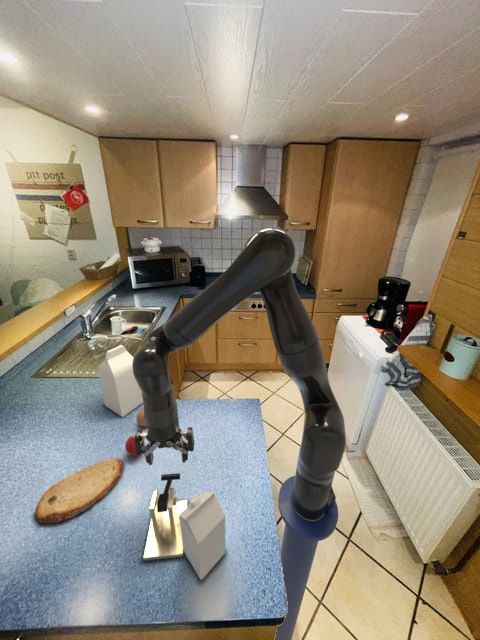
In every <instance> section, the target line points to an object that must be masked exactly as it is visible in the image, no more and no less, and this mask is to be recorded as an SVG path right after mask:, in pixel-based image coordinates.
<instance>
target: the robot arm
mask: <svg viewBox="0 0 480 640" xmlns="http://www.w3.org/2000/svg"><path fill="white" fill-rule="evenodd" d="M295 246H296V245H295V244H294V241H293V238H292V237H291V236H290V235H289V234H288V233H287V232H285V231H283V230H282V229H278V228H274V227H265V228H261V229H258V230H257V231H255V232H254V233H252V234H251V235H249V237H248V238H247V240H246V241H245V244H244V246H243V249H242V250H241V251H240V253H239V254H238V255H237V256H236V257H235V259H234V261H232V262H231V264H230V265H229V266H228V268H227V269H226V270H225V271H223V273H222V274H220V276H218V278H216V279H215V280H214V281H213V282H212V283H211V284H209V285H208V286H206V287H205V288H204V289H203V290H201V291H200V292H199V293H197V294H196V295H195V296H194V297H192V298H191V299H190V300H189V301H188V302H187V303H185V304H184V305H182V307H181V308H179V310H177V311H176V312H175V313H174V314H172V316H171V317H170V318H169V319H168V320H167V321H166V322H164V323H163V324H161V325H160V326H159V327H157V328H155V329H154V330H152V331H151V332H150V333H149V334H148V335H146V336H145V337H144V338H143V340H142V341H141V342H140V344H139V346H138V348H137V350H136V351H135V354H134V356H133V364H132V366H133V374H134V377H135V379H136V381H137V383H138V385H139V387H140V389H141V390H142V397H143V403H142V404H143V409H144V419H145V422H146V426H145V427H146V432H143V430H142V429H138V430H137V431H136V434H135V435H136V437H135V448H136V455H137V456H140V455H143V456H144V457H145V462H146V464H148V465H149V466H153V463H154V457H155V456H154V451H155V450H156V449H157V448H158V449H165V448H166V449H171V448H172V449H173V450H175V451H177V452H178V451H179V452H180V453H181V461H182V462H181V463H182V464H183V463H184V464H185V463H186V461H188V460H189V452H194V450H195V436H194V429H193V427H192V426H189V427H187V429H185V430H182V429H181V427H180V422H179V421H180V420H179V412H178V403H177V399H176V392H175V384H174V380H173V378H172V376H171V375H170V371H169V369H170V362H171V358H172V356H173V355H174V353H176V351H178V350H179V349H182V350H183V349H187V348H190V347H191V346H193V345H194V344H195V343H196V342H197V341H199V340H200V339H201V338H202V337H203V336H204V335H205V334H206V333H207V332H209V331H210V330H211V329H212V328H214V326H216V325H217V323H219V322H220V321H222V319H223V318H224V317H226V316H227V315H228V314H229V313H230V312H231V311H232V310H234V309H235V308H236V307H237V306H239V305H240V304H241V303H242V302H244V301H245V300H247V299H248V298H250V297H251V296H253V295H254V294H255V293H257V292H259V293H260V295H261V298H262V301H263V304H264V308H265V313H266V317H267V322H268V326H269V330H270V334H271V338H272V341H273V345H274V348H275V351H276V353H277V357H278V359H279V361H280V364H281V366H282V369H283V370H284V371H283V372H285V374H286V375H287V376H288V377H289V378H290V380H291V381H292V382H293V383H294V384H295V385H296V387H297V389H298V390H299V393H300V396H301V400H302V405H303V410H304V411H303V412H304V419H303V426H302V427H303V429H302V436H301V442H300V446H299V448H298V449H299V450H298V455H297V460H296V461H297V462H296V467H295V473H294V476H295V479H294V484H293V490H292V494H291V504H292V507H293V509H294V511H295V513H296V514H297V515H298V516H299V517H300V518H302V519H303V520H305V521H308V522H316V521H319V520H320V519H321V518H322V517H323V516H324V514H328V510H329V507H330V504H334V503H335V501H336V499H337V496H336V494H335V492H334V489H333V487H332V485H333V482H334V478H335V474H336V471H338V470H339V468H340V465H341V463H342V460H343V457H344V454H345V450H346V446H347V436H346V425H345V424H346V423H345V417H344V415H343V412H342V409H341V407H340V405H339V403H338V401H337V399H336V397H335V394H334V392H333V390H332V387H331V384H330V380H329V374H328V368H327V363H326V360H325V356H324V352H323V351H324V350H323V348H322V344H321V342H320V338H319V335H318V333H317V330H316V327H315V325H314V322H313V321H312V318H311V316H310V314H309V312H308V310H307V309H306V306H305V304H304V303H303V301H302V299H301V297H300V295H299V293H298V290H297V288H296V284H295V281H294V276H293V272H292V267H293V266H294V263H295V258H296V247H295ZM184 439H185V440H184ZM145 440H146V441H147V442H148V443H147V444H146V445H145V444H143V441H144V442H145Z"/></svg>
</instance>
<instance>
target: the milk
mask: <svg viewBox="0 0 480 640" xmlns="http://www.w3.org/2000/svg"><path fill="white" fill-rule="evenodd" d="M133 358H134V356H132V354H131V353H130V352H129V351H128V350H127V348H126V347H125V346H124V345H122V344H119V345H117V346H115V347H113V348H111V349H109V350H107V351H106V354H105V359H104V360H102V362H101V363H100V364H99V365H98V367H97V370H98V376H99V381H100V387H101V393H102V397H103V404H104V406H105V407H106V408H108V409H110V411H112V412H114V413H115V414H116V415H118V416H120V417H122V418H124V417H125V416H127V415H128V414H129V413H130V412H132V411H133V410H135V409H136V408H137V407H139V406H140V405H142V404H144V403H143V397H142V390H141V389H140V387H139V385H138V383H137V381H136V379H135V377H134V374H133V366H132V364H133Z"/></svg>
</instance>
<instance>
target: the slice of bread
mask: <svg viewBox="0 0 480 640" xmlns="http://www.w3.org/2000/svg"><path fill="white" fill-rule="evenodd" d="M122 473H123V462H122V461H121V460H119V459H117V458H109V459H105V460H102V461H99V462H97V463H94V464H93V465H90V466H87V467H85V468H83V469H80V470H79V471H77V472H76V471H75V472H74V473H72V474H70V475H68V476H67V477H64V478H63V479H62V480H59V481H57V482H56V483H54V484H52V485H51V486H50V487H49V488H48V489H47V490H46V491H45V492H44V493H43V495H42V496H41V498H39V501H38V503H37V505H36V508H35V518H36V520H37V521H38V522H39V523H40V524H47V523H60V522H63V521H66V520H70V519H71V518H73V517H75V516H78V515H79V514H81V513H83V512H85V511H86V510H88V509H90V508H91V507H93V505H94V504H95V503H97V502H98V501H101V500H102V499H103V498H104V497H105V496H106V495H107V494H108V493H109V492H110V491H111V490H112V489H113V488H114V487H115V485H116V484H117V482H118V481H119V479H120V477H121V475H122Z"/></svg>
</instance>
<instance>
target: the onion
mask: <svg viewBox="0 0 480 640" xmlns="http://www.w3.org/2000/svg"><path fill="white" fill-rule="evenodd" d="M135 437H136V434H132V435H131V436H129V437H128V438H127V440H126V442H125V445H124V449H125V451H126V453H127V454H128V455H130V456H135V455H137V454H136V448H135ZM143 444H144V445H145V440H144V441H143Z"/></svg>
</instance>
